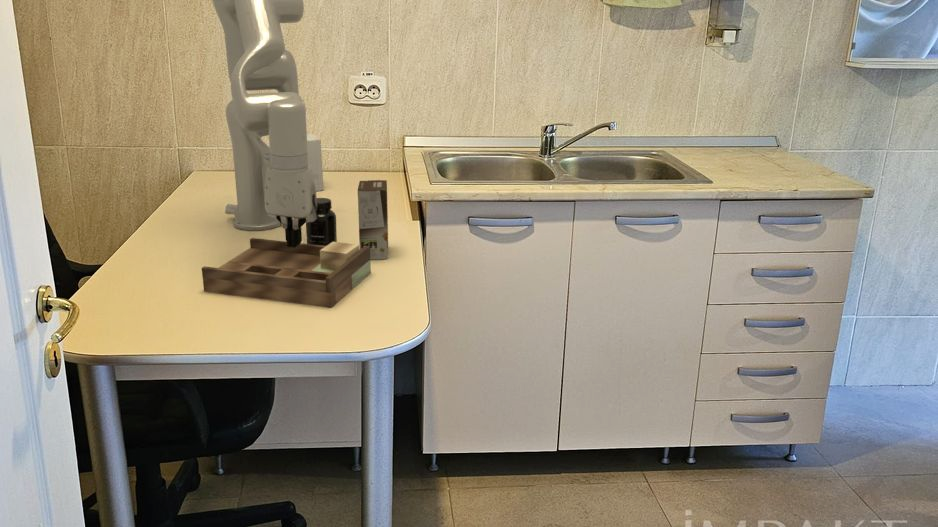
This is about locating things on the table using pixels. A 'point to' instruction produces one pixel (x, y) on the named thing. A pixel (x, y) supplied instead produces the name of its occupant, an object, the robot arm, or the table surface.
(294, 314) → the table surface
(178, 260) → the table surface
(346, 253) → the maple block
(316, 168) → the supplement box
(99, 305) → the table surface
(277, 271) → the box
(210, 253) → the table surface
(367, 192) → the coffee box
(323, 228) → the supplement bottle
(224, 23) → the robot arm
